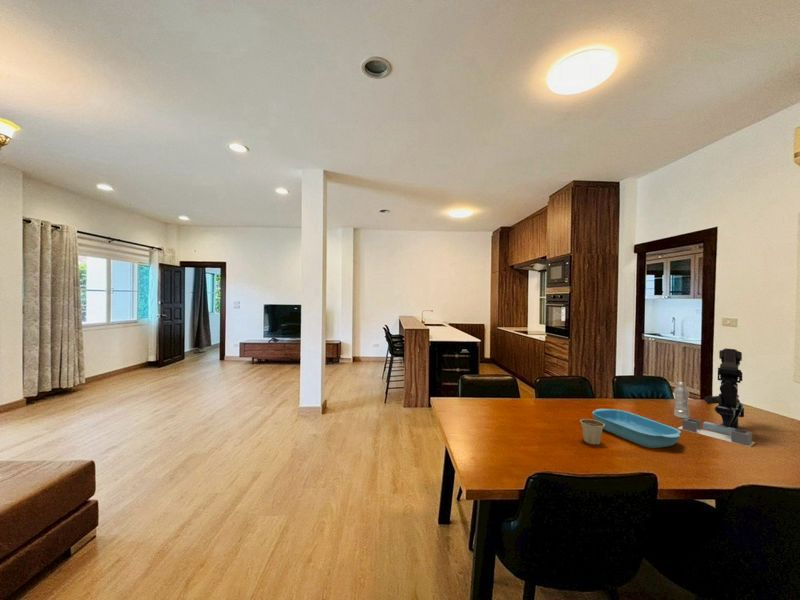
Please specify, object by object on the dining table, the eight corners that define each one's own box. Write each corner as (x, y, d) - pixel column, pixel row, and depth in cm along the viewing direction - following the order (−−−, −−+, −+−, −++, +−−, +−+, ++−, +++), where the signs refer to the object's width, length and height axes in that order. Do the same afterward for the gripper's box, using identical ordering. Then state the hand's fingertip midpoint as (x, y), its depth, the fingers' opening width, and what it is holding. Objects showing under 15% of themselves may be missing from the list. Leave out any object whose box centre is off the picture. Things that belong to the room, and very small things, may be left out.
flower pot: (601, 439, 148) (601, 420, 148) (607, 448, 139) (607, 427, 139) (578, 436, 151) (578, 417, 151) (582, 444, 142) (582, 424, 142)
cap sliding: (748, 445, 141) (747, 435, 142) (731, 441, 146) (731, 431, 146) (751, 441, 146) (751, 431, 146) (735, 437, 150) (735, 428, 150)
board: (683, 426, 166) (683, 424, 166) (755, 444, 146) (755, 442, 146) (677, 429, 161) (677, 428, 161) (750, 448, 141) (750, 446, 141)
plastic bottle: (692, 420, 175) (692, 383, 175) (678, 419, 176) (678, 382, 177) (684, 417, 181) (684, 381, 182) (671, 415, 183) (671, 380, 183)
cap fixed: (687, 426, 164) (687, 417, 164) (701, 429, 160) (701, 420, 160) (682, 429, 160) (682, 420, 160) (696, 432, 156) (696, 423, 156)
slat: (705, 429, 163) (705, 421, 164) (745, 439, 152) (745, 430, 152) (703, 430, 161) (703, 422, 162) (743, 440, 150) (743, 432, 150)
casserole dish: (694, 449, 139) (694, 432, 140) (655, 455, 133) (655, 437, 133) (615, 420, 175) (615, 406, 175) (582, 423, 169) (582, 409, 169)
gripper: (712, 386, 167) (712, 416, 167) (700, 391, 157) (700, 423, 157) (743, 391, 158) (743, 423, 158) (733, 396, 148) (733, 431, 147)
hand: (729, 425), depth 155 cm, fingers open, 9 cm apart
